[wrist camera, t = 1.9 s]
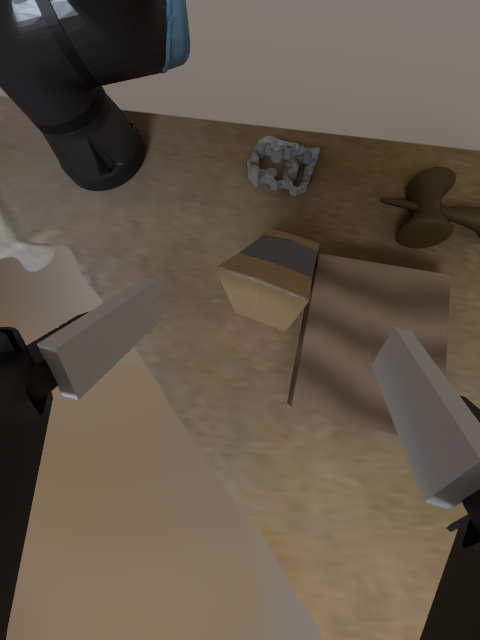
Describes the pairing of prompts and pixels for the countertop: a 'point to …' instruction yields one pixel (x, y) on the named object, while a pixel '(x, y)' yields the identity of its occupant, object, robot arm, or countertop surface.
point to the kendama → (431, 210)
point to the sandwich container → (271, 278)
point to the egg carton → (294, 158)
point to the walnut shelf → (362, 334)
